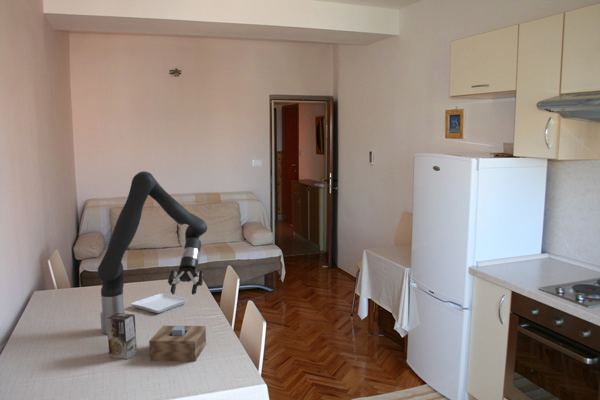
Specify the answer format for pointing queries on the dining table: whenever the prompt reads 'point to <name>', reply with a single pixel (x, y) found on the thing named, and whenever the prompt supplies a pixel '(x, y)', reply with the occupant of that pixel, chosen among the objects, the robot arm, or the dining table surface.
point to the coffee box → (121, 335)
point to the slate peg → (178, 331)
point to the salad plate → (159, 303)
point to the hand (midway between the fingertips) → (182, 293)
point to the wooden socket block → (177, 344)
